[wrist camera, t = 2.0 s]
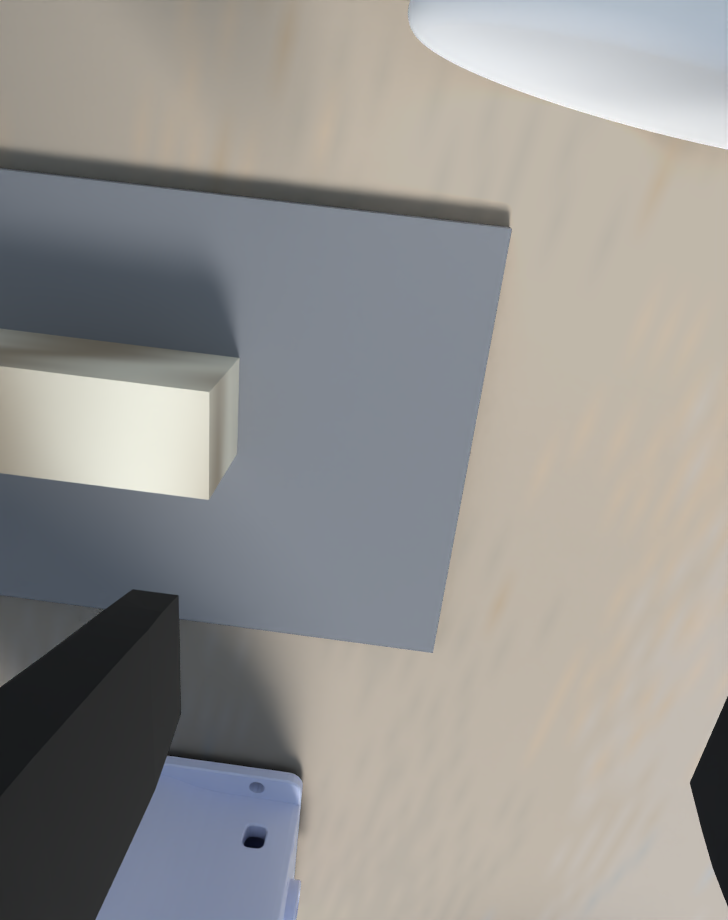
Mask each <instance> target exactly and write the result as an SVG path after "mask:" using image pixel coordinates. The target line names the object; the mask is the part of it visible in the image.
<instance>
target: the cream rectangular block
mask: <svg viewBox="0 0 728 920" xmlns="http://www.w3.org/2000/svg"><path fill="white" fill-rule="evenodd" d="M239 359H240V358H236V357H228V356H220V355H212V354H204V353H196V352H187V351H179V350H171V349H163V348H155V347H147V346H139V345H130V344H122V343H114V342H106V341H98V340H90V339H81V338H73V337H65V336H57V335H49V334H41V333H32V332H24V331H16V330H8V329H0V473H3V474H11V475H19V476H27V477H34V478H42V479H50V480H58V481H65V482H73V483H81V484H89V485H97V486H104V487H112V488H120V489H128V490H135V491H143V492H151V493H159V494H167V495H174V496H182V497H190V498H198V499H206V500H209V499H210V497H211V496H212V494H213V492H214V491H215V489H216V487H217V486H218V484H219V482H220V481H221V479H222V477H223V476H224V474H225V473H226V471H227V469H228V468H229V466H230V464H231V463H232V461H233V459H234V458H235V456H236V454H237V439H238V399H239Z"/></svg>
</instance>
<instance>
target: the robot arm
mask: <svg viewBox="0 0 728 920" xmlns="http://www.w3.org/2000/svg"><path fill="white" fill-rule="evenodd" d="M180 715H181V691H180V639H179V595H173V594H166V593H158V592H151V591H143V590H135V589H132V590H131V591H129V592H128V593H127V594H125V595H124V596H123V597H121V598H120V599H118V600H117V601H116V602H114V603H113V604H112V605H110V606H109V607H108V608H106V609H105V610H104V611H102V612H101V613H100V614H98V615H97V616H96V617H94V618H93V619H92V620H90V621H89V622H88V623H86V624H85V625H84V626H82V627H81V628H80V629H78V630H77V631H76V632H75V633H73V634H72V635H71V636H69V637H68V638H67V639H65V640H64V641H63V642H61V643H60V644H59V645H57V646H56V647H55V648H53V649H52V650H51V651H49V652H48V653H47V654H45V655H44V656H43V657H41V658H40V659H39V660H37V661H36V662H35V663H33V664H32V665H30V666H29V667H28V668H26V669H25V670H24V671H22V672H21V673H19V674H18V675H17V676H15V677H14V678H13V679H11V680H10V681H8V682H7V683H6V684H4V685H3V686H2V687H0V920H296V918H297V911H298V904H299V897H300V888H301V881H300V880H296V879H294V874H295V863H296V852H297V841H298V831H299V820H300V809H301V798H302V787H303V784H302V780H301V779H300V778H299V777H298V776H297V775H295V774H293V773H289V772H282V771H275V770H268V769H261V768H253V767H246V766H239V765H232V764H225V763H217V762H210V761H203V760H196V759H189V758H181V757H174V756H167V755H168V751H169V748H170V745H171V742H172V739H173V736H174V733H175V730H176V727H177V724H178V721H179V718H180ZM257 782H258V783H257ZM690 785H691V789H692V793H693V797H694V801H695V805H696V809H697V813H698V817H699V821H700V825H701V829H702V832H703V835H704V839H705V842H706V846H707V849H708V853H709V856H710V860H711V863H712V867H713V869H714V872H715V875H716V877H717V880H718V882H719V885H720V888H721V890H722V893H723V895H724V898H725V900H726V903H727V905H728V697H727V699H726V702H725V704H724V706H723V709H722V711H721V713H720V715H719V718H718V720H717V722H716V724H715V727H714V729H713V731H712V734H711V736H710V738H709V740H708V743H707V745H706V747H705V749H704V752H703V754H702V756H701V759H700V761H699V763H698V765H697V768H696V770H695V772H694V775H693V777H692V779H691V781H690Z"/></svg>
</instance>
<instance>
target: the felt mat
mask: <svg viewBox="0 0 728 920" xmlns="http://www.w3.org/2000/svg"><path fill="white" fill-rule="evenodd" d="M511 231H512V229H511V228H510V227H504V226H496V225H487V224H478V223H470V222H461V221H453V220H444V219H435V218H427V217H418V216H410V215H401V214H392V213H384V212H375V211H367V210H358V209H349V208H341V207H332V206H323V205H315V204H306V203H298V202H289V201H280V200H272V199H263V198H255V197H246V196H237V195H229V194H220V193H211V192H203V191H194V190H186V189H177V188H168V187H160V186H151V185H143V184H134V183H125V182H117V181H108V180H100V179H91V178H82V177H74V176H65V175H56V174H48V173H39V172H31V171H22V170H13V169H5V168H0V329H8V330H16V331H24V332H32V333H41V334H49V335H57V336H65V337H73V338H81V339H90V340H98V341H106V342H114V343H122V344H130V345H139V346H147V347H155V348H163V349H171V350H179V351H187V352H196V353H204V354H212V355H220V356H228V357H236V358H240V359H239V399H238V439H237V454H236V456H235V458H234V459H233V461H232V463H231V464H230V466H229V468H228V469H227V471H226V473H225V474H224V476H223V477H222V479H221V481H220V482H219V484H218V486H217V487H216V489H215V491H214V492H213V494H212V496H211V497H210V499H209V500H206V499H198V498H190V497H182V496H174V495H167V494H159V493H151V492H143V491H135V490H128V489H120V488H112V487H104V486H97V485H89V484H81V483H73V482H65V481H58V480H50V479H42V478H34V477H27V476H19V475H11V474H3V473H0V595H3V596H10V597H18V598H25V599H33V600H40V601H48V602H55V603H63V604H70V605H78V606H85V607H93V608H100V609H106V608H108V607H109V606H110V605H112V604H113V603H114V602H116V601H117V600H118V599H120V598H121V597H123V596H124V595H125V594H127V593H128V592H129V591H131V590H132V589H135V590H143V591H151V592H158V593H166V594H173V595H179V619H183V620H190V621H198V622H205V623H213V624H220V625H228V626H235V627H243V628H250V629H258V630H265V631H273V632H280V633H288V634H295V635H303V636H310V637H318V638H325V639H333V640H340V641H348V642H355V643H363V644H370V645H378V646H385V647H393V648H400V649H408V650H415V651H423V652H430V653H433V649H434V644H435V638H436V633H437V627H438V622H439V617H440V611H441V606H442V601H443V595H444V590H445V585H446V579H447V574H448V569H449V563H450V558H451V552H452V547H453V542H454V536H455V531H456V526H457V520H458V515H459V510H460V504H461V499H462V494H463V488H464V483H465V477H466V472H467V467H468V461H469V456H470V451H471V445H472V440H473V435H474V429H475V424H476V419H477V413H478V408H479V402H480V397H481V392H482V386H483V381H484V376H485V370H486V365H487V360H488V354H489V349H490V344H491V338H492V333H493V327H494V322H495V317H496V311H497V306H498V301H499V295H500V290H501V285H502V279H503V274H504V269H505V263H506V258H507V253H508V247H509V242H510V236H511Z"/></svg>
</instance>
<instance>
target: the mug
mask: <svg viewBox="0 0 728 920" xmlns="http://www.w3.org/2000/svg"><path fill="white" fill-rule="evenodd" d="M408 20H409V24H410V27H411V30H412V31H413V33H414V34H415V36H416V37H417V38H418V39H419V40H420V41H421V42H422V43H423V44H424V45H425V46H426V47H428V48H429V49H430V50H432V51H433V52H435V53H436V54H438V55H440V56H441V57H443V58H445V59H447V60H448V61H450V62H452V63H454V64H456V65H458V66H460V67H462V68H464V69H466V70H469V71H471V72H473V73H475V74H478V75H480V76H482V77H485V78H487V79H489V80H492V81H494V82H497V83H499V84H502V85H504V86H507V87H510V88H512V89H515V90H518V91H521V92H523V93H526V94H529V95H532V96H535V97H537V98H540V99H543V100H546V101H549V102H552V103H555V104H558V105H561V106H564V107H568V108H571V109H574V110H577V111H580V112H584V113H587V114H590V115H594V116H597V117H600V118H604V119H607V120H611V121H614V122H618V123H621V124H625V125H629V126H632V127H636V128H640V129H643V130H647V131H651V132H655V133H659V134H663V135H667V136H671V137H675V138H679V139H683V140H687V141H691V142H696V143H700V144H705V145H709V146H713V147H718V148H723V149H727V150H728V0H410V3H409V8H408Z"/></svg>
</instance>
